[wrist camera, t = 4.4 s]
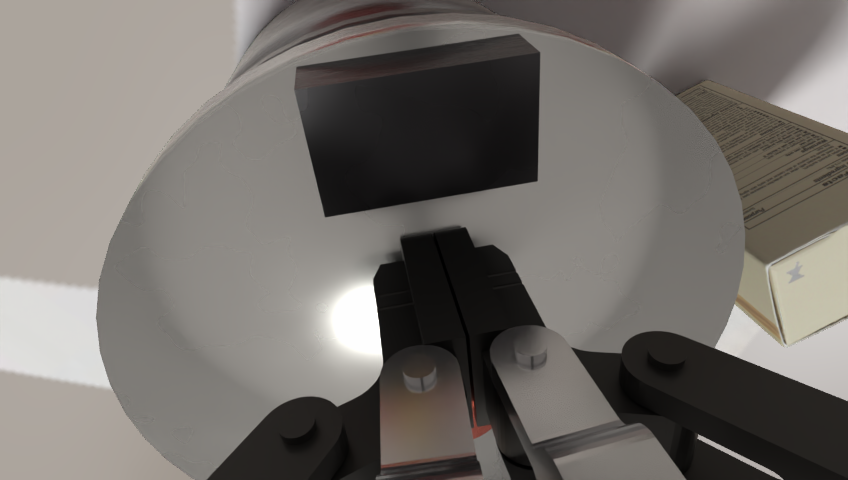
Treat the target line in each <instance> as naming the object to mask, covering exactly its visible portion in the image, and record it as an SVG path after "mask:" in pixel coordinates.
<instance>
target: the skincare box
mask: <svg viewBox="0 0 848 480" xmlns="http://www.w3.org/2000/svg"><path fill="white" fill-rule="evenodd" d="M676 97H677V98H678V99H679V100H681V101H682V102H683V103H684V104H685V105H686V106H688V107H689V108H690V109H691V110H692V111H693V112H694V114H695V115H696V116H697V117H698V119H699V120H700V121H701V122H702V124H703V125H704V126H705V127H706V128H707V130H708V131H709V132H710V133H711V135H712V136H713V137H714V138H715V140H716V142H717V144H718V145H719V147H720V149H721V151H722V153H723V155H724V157H725V159H726V161H727V162H728V164H729V166H730V168H731V170H732V173H733V176H734V179H735V182H736V186H737V189H738V192H739V195H740V199H741V202H742V209H743V218H744V227H745V251H744V267H743V271H742V276H741V281H740V285H739V290H738V294H737V298H736V301H735V303H734V304H735V305H736V306H737V307H739V308H740V309H741V310H742V311H743V312H744V313H745V314H747V315H748V316H749V317H750V318H751V319H752V320H753V321H754V322H756V323H757V324H758V325H759V326H760V327H761V328H762V329H763V330H765V331H766V332H767V333H768V334H769V335H770V336H772V337H773V338H774V339H775V340H776V341H777V342H778V343H780V344H781V345H782V346H783V347H790V346H792V345H794V344H796V343H798V342H800V341H803V340H805V339H807V338H809V337H811V336H813V335H815V334H818V333H819V332H821V331H824V330H826V329H828V328H830V327H832V326H834V325H836V324H838V323H840V322H842V321H844V320H846V319H848V133H846V132H843V131H840V130H838V129H835V128H833V127H830V126H827V125H825V124H822V123H819V122H817V121H814V120H812V119H809V118H807V117H804V116H801V115H799V114H796V113H793V112H791V111H788V110H785V109H783V108H780V107H778V106H775V105H772V104H770V103H767V102H765V101H762V100H760V99H757V98H754V97H752V96H749V95H746V94H744V93H741V92H739V91H736V90H733V89H731V88H728V87H725V86H723V85H720V84H718V83H715V82H713V81H710V80H706V81H703V82H701V83H700V84H698V85H696V86H694V87H692V88H690V89H688V90H686V91H684V92H682V93H680V94H679V95H677V96H676Z"/></svg>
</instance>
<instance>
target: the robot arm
mask: <svg viewBox="0 0 848 480" xmlns="http://www.w3.org/2000/svg"><path fill="white" fill-rule="evenodd" d="M433 238H434V239H433ZM400 246H401V252H402V258H403V261H397V262H391V263H386V264H380V266H379V268H378V270H377V272H376V274H375V276H374V278H373V286H374V294H375V302H376V309H377V317H378V325H379V333H380V340H381V348H382V356H383V367H382V369H381V372H380V376H379V377H378V379H377V381H376V382H375V383H374V384H373V385H372V386H371V387H370V388H369V389H368V390H367V391H366V392H364V393H363V394H361V395H360V396H358V397H356V398H354V399H352V400H350V401H348V402H346V403H344V404H342V405H340V406H338V407H337V406H336V405H335V404H333V403H332V402H331V401H329V400H327V399H324V398H321V397H315V396H306V397H299V398H296V399H292V400H290V401H287V402H285V403H283V404H281V405H279V406H278V407H276V408H275V409H274V410H272V411H271V412H270V413H269V414H268V415H267V416H266V417H265V418H264V419H263V420H262V421H261V422H260V423H259V424H258V425H257V426H256V427H255V429H254V430H253V431H252V432H251V433H250V434H249V435H248V436H247V437H246V438H245V439H244V440H243V441H242V442H241V443H240V445H239V446H238V447H237V448H236V449H235V450H234V451H233V452H232V453H231V454H230V455H229V456H228V457H227V458H226V459H225V461H224V462H223V463H222V464H221V465H220V466H219V467H218V468H217V469H216V470H215V471H214V472H213V473H212V474H211V475H210V476H209V478H208V479H207V480H484V479H483V474H482V470H481V465H480V462H479V461H478V460H477V456H476V451H475V445H474V440H473V435H472V429H471V428H474V421H473V414H474V417H475V420H476V424H477V427H480V426H485V425H490V424H491V427H492V430H493V433H494V437H495V441H496V455H497V461H498V464H499V466H500V469H501V471H502V474H503V476H504V479H505V480H780V479H777V478H775V477H772V476H770V475H768V474H766V473H764V472H762V471H760V470H758V469H756V468H754V467H752V466H750V465H748V464H746V463H744V462H742V461H740V460H738V459H736V458H735V457H732V456H731V455H729V454H727V453H725V452H723V451H721V450H718V449H716V448H715V447H713V446H711V445H709V444H706V443H705V442H703V441H701V440H699V439H697V437H698V434H699V435H701V436H703V437H705V438H707V439H709V440H711V441H713V442H715V443H717V444H719V445H721V446H724V447H725V448H727V449H729V450H731V451H734V452H735V453H738V454H740V455H741V456H744V457H746V458H748V459H750V460H752V461H754V462H756V463H758V464H760V465H762V466H764V467H766V468H768V469H770V470H771V471H773V472H775V473H776V474H778V475H779V476H780V477H781V478H783V479H784V480H848V401H846V400H843V399H841V398H838V397H836V396H833V395H831V394H828V393H825V392H823V391H820V390H818V389H815V388H813V387H810V386H808V385H805V384H803V383H800V382H798V381H795V380H793V379H790V378H788V377H785V376H783V375H780V374H778V373H775V372H772V371H770V370H768V369H765V368H762V367H760V366H757V365H755V364H752V363H750V362H747V361H745V360H742V359H740V358H737V357H735V356H732V355H730V354H727V353H725V352H722V351H720V350H717V349H715V348H712V347H709V346H707V345H704V344H702V343H699V342H697V341H694V340H692V339H689V338H687V337H684V336H681V335H679V334H675V333H671V332H665V331H648V332H643V333H640V334H637V335H635V336H633V337H631V338H630V339H629V340H628V341H627V342H626V343H625V344H624V346H623V348H622V353H606V352H591V351H584V350H579V349H576V348H572V347H570V345H569V344H568V343H567V341H566V340H565V339H564V338H563V337H562V336H561V335H560V334H558V333H556V332H555V331H553V330H551V329H548V328H546V326H545V324H544V322H543V320H542V318H541V317H540V315H539V313H538V311H537V309H536V307H535V305H534V303H533V301H532V299H531V298H530V296H529V294H528V292H527V290H526V288H525V286H524V284H522V280H521V279H520V277H519V275H518V273H516V269H515V267H514V265H513V263H512V261H511V260H510V258H509V256H508V255H507V254H506V253H504V252H503V251H501V250H500V249H498V248H497V247H496V246H494V245H493V244H492V245H486V246H481V247H475V246H474V244H473V242H472V239H471V237H470V235H469V233H468V230H467V228H466V227H462V228H457V229H451V230H445V231H439V232H434V234H433V236H432V233H429V234H423V235H417V236H411V237H406V238H400Z"/></svg>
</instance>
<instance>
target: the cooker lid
mask: <svg viewBox="0 0 848 480" xmlns="http://www.w3.org/2000/svg"><path fill="white" fill-rule="evenodd" d="M462 227H466V228H467V230H468V233H469V235H470V237H471V239H472V242H473V244H474V246H475V247H481V246H486V245H492V244H493V245H494V246H496V247H497V248H498V249H500V250H501V251H503V252H504V253H506V254H507V255H508V256H509V258H510V260H511V261H512V263H513V265H514V267H515V269H516V273H518V275H519V277H520V279H521V280H522V284H524V286H525V288H526V290H527V292H528V294H529V296H530V298H531V299H532V301H533V303H534V305H535V307H536V309H537V311H538V313H539V315H540V317H541V318H542V320H543V322H544V324H545V326H546V328H548V329H551V330H553V331H555V332H556V333H558V334H560V335H561V336H562V337H563V338H564V339H565V340H566V341H567V343H568V344H569V345H570V347H572V348H576V349H579V350H584V351H591V352H606V353H622V348H623V346H624V344H625V343H626V342H627V341H628V340H629V339H630V338H631V337H633V336H635V335H637V334H640V333H643V332H648V331H665V332H671V333H675V334H679V335H681V336H684V337H687V338H689V339H692V340H694V341H697V342H699V343H702V344H704V345H707V346H709V347H712V348H715V346H716V344H717V342H718V340H719V338H720V336H721V334H722V333H723V331H724V329H725V327H726V325H727V322H728V319H729V317H730V314H731V311H732V309H733V306H734V303H735V301H736V298H737V294H738V290H739V285H740V281H741V276H742V271H743V267H744V251H745V227H744V218H743V209H742V202H741V199H740V195H739V192H738V189H737V186H736V182H735V179H734V176H733V173H732V170H731V168H730V166H729V164H728V162H727V161H726V159H725V157H724V155H723V153H722V151H721V149H720V147H719V145H718V144H717V142H716V140H715V138H714V137H713V136H712V135H711V133H710V132H709V131H708V130H707V128H706V127H705V126H704V125H703V124H702V122H701V121H700V120H699V119H698V117H697V116H696V115H695V114H694V112H693V111H692V110H691V109H690V108H689V107H688V106H686V105H685V104H684V103H683V102H682V101H681V100H679V99H678V98H677V97H676V96H675V95H674V94H672V93H671V92H670V91H669V90H668V89H667V88H665V87H664V86H663V85H662V84H661V83H659V82H658V81H656V80H655V79H653V78H652V77H650V76H649V75H647V74H646V73H644V72H643V71H641V70H639V69H638V68H636V67H635V66H633V65H632V64H630V63H628V62H627V61H625V60H623V59H622V58H620V57H618V56H616V55H615V54H613V53H611V52H610V51H608V50H606V49H604V48H603V47H601V46H599V45H598V44H596V43H594V42H591V41H589V40H586V39H583V38H581V37H578V36H576V35H573V34H570V33H568V32H565V31H563V30H560V29H557V28H555V27H552V26H548V25H543V24H539V23H534V22H529V21H525V20H520V19H515V18H511V17H506V16H496V15H481V14H466V13H440V14H427V15H414V16H400V17H395V18H390V19H385V20H381V21H376V22H372V23H367V24H362V25H358V26H353V27H348V28H344V29H342V30H339V31H336V32H333V33H331V34H328V35H325V36H323V37H320V38H317V39H314V40H312V41H309V42H306V43H303V44H301V45H298V46H295V47H293V48H291V49H289V50H287V51H285V52H284V53H282V54H280V55H278V56H276V57H274V58H272V59H270V60H269V61H267V62H265V63H263V64H261V65H259V66H257V67H255V68H254V69H252V70H250V71H248V72H246V73H245V74H244V75H242V76H241V77H240V78H238V79H237V80H235V81H234V82H233V83H231V84H230V85H229V86H227V87H226V88H225V89H223V90H222V91H221V92H219V93H218V94H216V95H215V96H214V97H212V98H211V99H210V100H208V101H207V102H206V103H205V104H204V105H203V106H202V107H201V108H200V109H199V110H198V111H197V112H196V113H195V114H194V115H193V116H192V117H191V118H190V119H189V120H188V121H187V122H186V123H185V124H184V125H183V126H182V127H181V128H180V129H179V130H178V131H177V132H176V133H175V134H174V135H173V136H172V137H171V138H170V139H169V141H168V142H167V144H166V145H165V146H164V148H163V149H162V151H161V152H160V153H159V155H158V156H157V157H156V159H155V160H154V162H153V163H152V164H151V166H150V167H149V168H148V170H147V171H146V173H145V174H144V176H143V178H142V180H141V182H140V184H139V185H138V187H137V189H136V191H135V193H134V195H133V197H132V198H131V200H130V202H129V204H128V206H127V208H126V210H125V212H124V214H123V216H122V218H121V220H120V222H119V224H118V226H117V229H116V231H115V233H114V235H113V237H112V239H111V241H110V244H109V247H108V251H107V254H106V258H105V262H104V265H103V269H102V272H101V276H100V279H99V290H98V302H97V314H96V320H97V329H98V338H99V346H100V353H101V357H102V360H103V363H104V366H105V369H106V373H107V376H108V379H109V382H110V385H111V387H112V389H113V391H114V393H115V394H116V396H117V398H118V400H119V402H120V404H121V406H122V408H123V409H124V411H125V413H126V415H127V416H128V417H129V419H130V420H131V421H132V422H133V424H134V425H135V426H136V428H137V429H138V430H139V432H140V433H141V434H142V436H143V437H144V438H145V439H146V440H147V441H148V442H149V443H150V444H151V445H152V446H153V447H154V448H155V449H156V450H157V451H158V452H160V454H161V455H163V456H164V457H165V458H166V459H167V460H168V461H169V462H171V463H172V464H173V465H175V466H176V467H177V468H179V469H180V470H182V471H183V472H184V473H186V474H187V475H188V476H190V477H191V478H193V479H195V480H207V479H208V478H209V476H210V475H211V474H212V473H213V472H214V471H215V470H216V469H217V468H218V467H219V466H220V465H221V464H222V463H223V462H224V461H225V459H226V458H227V457H228V456H229V455H230V454H231V453H232V452H233V451H234V450H235V449H236V448H237V447H238V446H239V445H240V443H241V442H242V441H243V440H244V439H245V438H246V437H247V436H248V435H249V434H250V433H251V432H252V431H253V430H254V429H255V427H256V426H257V425H258V424H259V423H260V422H261V421H262V420H263V419H264V418H265V417H266V416H267V415H268V414H269V413H270V412H271V411H272V410H274V409H275V408H276V407H278V406H279V405H281V404H283V403H285V402H287V401H290V400H292V399H296V398H299V397H306V396H315V397H321V398H324V399H327V400H329V401H331V402H332V403H333V404H335V405H336V406H337V407H338V406H340V405H342V404H344V403H346V402H348V401H350V400H352V399H354V398H356V397H358V396H360V395H361V394H363V393H364V392H366V391H367V390H368V389H369V388H370V387H371V386H372V385H373V384H374V383H375V382H376V381H377V379H378V377H379V376H380V372H381V369H382V367H383V356H382V348H381V340H380V333H379V325H378V317H377V309H376V302H375V294H374V286H373V278H374V276H375V274H376V272H377V270H378V268H379V266H380V264H386V263H391V262H397V261H403V258H402V252H401V246H400V238H406V237H411V236H417V235H423V234H429V233H432V236H433V234H434V232H439V231H445V230H451V229H457V228H462ZM433 239H434V238H433ZM473 421H474V428H471V429H472V435H473V440H474V445H475V451H476V456H477V460H478V461H479V462H480V465H481V470H482V474H483V479H484V480H505V479H504V476H503V474H502V471H501V469H500V466H499V464H498V461H497V455H496V441H495V437H494V433H493V430H492V427H491V424H490V425H485V426H480V427H477V424H476V420H475V417H474V414H473Z"/></svg>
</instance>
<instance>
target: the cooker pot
mask: <svg viewBox="0 0 848 480" xmlns="http://www.w3.org/2000/svg"><path fill="white" fill-rule="evenodd" d="M440 13H466V14H481V15H496V16H499V15H497V14H496V13H494V12H492V11H490V10H489V9H487V8H485V7H483V6H482V5H480V4H478V3H476V2H475V1H473V0H297V1H296V2H294V3H293V4H291V5H290V6H289V7H288V8H286V9H285V10H284V11H282V12H281V13H280V14H278V15H277V16H276V17H275V18H274V19H273V20H272V21H271V22H270V23H269V24H268V25H267V26H266V27H265V28H264V29H263V30H262V31H261V32H260V33H259V34H258V36H257V37H256V39H255V40H254V41H253V43H252V44H251V45H250V47H249V48H248V49H247V51H246V52H245V54H244V56H243V57H242V59H241V61H240V63H239V64H238V66H237V68H236V69H235V71H234V73H233V74H232V76H231V78H230V80H229V81H228V83H227V85H226V86H225V88H226V87H227V86H229V85H230V84H231V83H233V82H234V81H235V80H237V79H238V78H240V77H241V76H242V75H244V74H245V73H246V72H248V71H250V70H252V69H254V68H255V67H257V66H259V65H261V64H263V63H265V62H267V61H269V60H270V59H272V58H274V57H276V56H278V55H280V54H282V53H284V52H285V51H287V50H289V49H291V48H293V47H295V46H298V45H301V44H303V43H306V42H309V41H312V40H314V39H317V38H320V37H323V36H325V35H328V34H331V33H333V32H336V31H339V30H342V29H344V28H348V27H353V26H358V25H362V24H367V23H372V22H376V21H381V20H385V19H390V18H395V17H400V16H414V15H427V14H440ZM225 88H224V89H225Z"/></svg>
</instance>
